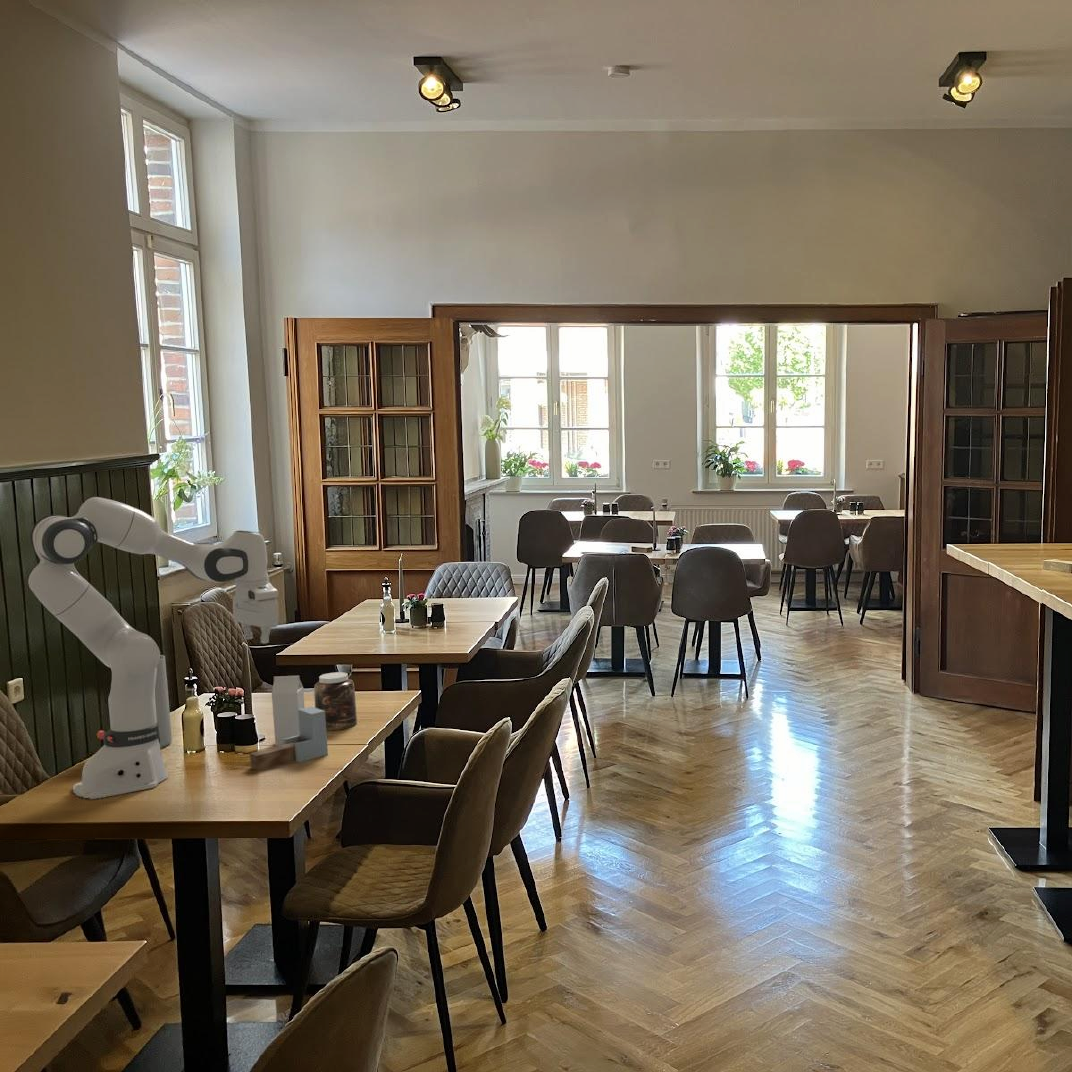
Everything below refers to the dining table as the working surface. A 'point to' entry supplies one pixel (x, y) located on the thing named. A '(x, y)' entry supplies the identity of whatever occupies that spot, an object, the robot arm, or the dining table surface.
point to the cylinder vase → (162, 703)
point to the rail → (274, 756)
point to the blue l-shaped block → (310, 735)
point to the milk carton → (286, 707)
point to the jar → (336, 700)
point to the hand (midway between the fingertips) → (256, 641)
